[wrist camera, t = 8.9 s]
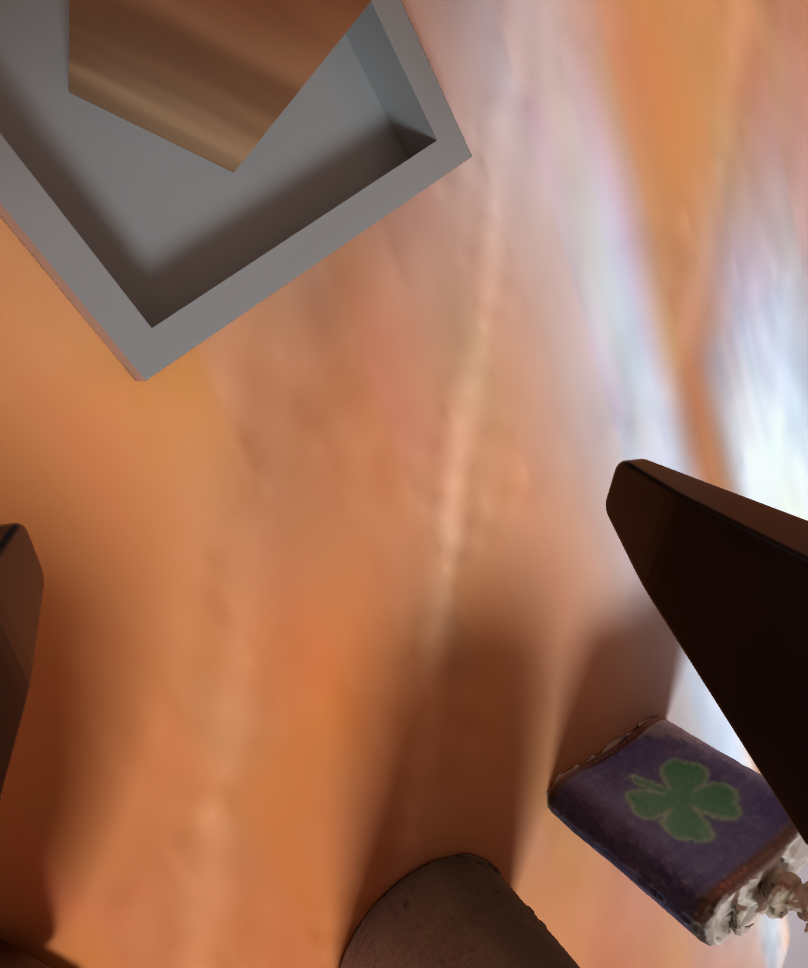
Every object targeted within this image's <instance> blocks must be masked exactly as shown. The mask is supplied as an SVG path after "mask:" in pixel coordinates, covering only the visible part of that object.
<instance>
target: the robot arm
mask: <svg viewBox="0 0 808 968" xmlns="http://www.w3.org/2000/svg"><path fill="white" fill-rule="evenodd" d="M606 510H607V514H608V516H609V519H610V521H611V523H612V525H613V527H614V529H615V531H616V533H617V535H618V537H619V539H620V541H621V543H622V545H623V547H624V549H625V551H626V553H627V555H628V557H629V559H630V561H631V563H632V565H633V567H634V569H635V571H636V573H637V575H638V577H639V579H640V581H641V583H642V585H643V586H644V588H645V590H646V591H647V593H648V595H649V596H650V598H651V600H652V601H653V603H654V605H655V606H656V608H657V609H658V611H659V612H660V614H661V616H662V617H663V619H664V620H665V622H666V624H667V625H668V627H669V628H670V630H671V631H672V633H673V635H674V636H675V638H676V639H677V641H678V643H679V644H680V646H681V647H682V649H683V650H684V652H685V654H686V655H687V657H688V658H689V660H690V662H691V663H692V665H693V666H694V668H695V669H696V671H697V673H698V674H699V676H700V677H701V679H702V681H703V682H704V684H705V685H706V687H707V688H708V690H709V692H710V693H711V695H712V696H713V698H714V699H715V701H716V703H717V704H718V706H719V707H720V709H721V711H722V712H723V714H724V715H725V717H726V718H727V720H728V722H729V723H730V725H731V726H732V728H733V730H734V731H735V733H736V734H737V736H738V737H739V739H740V741H741V742H742V744H743V745H744V747H745V749H746V750H747V752H748V753H749V755H750V756H751V758H752V760H753V761H754V763H755V764H756V766H757V768H758V769H759V771H760V772H761V774H762V775H763V777H764V779H765V780H766V782H767V783H768V785H769V787H770V788H771V790H772V791H773V793H774V794H775V796H776V798H777V799H778V801H779V802H780V804H781V806H782V807H783V809H784V810H785V812H786V813H787V815H788V817H789V818H790V820H791V821H792V823H793V825H794V826H795V828H796V829H797V831H798V832H799V834H800V836H801V837H802V839H803V840H804V842H805V843H806V844H807V845H808V521H807V520H804V519H801V518H799V517H796V516H793V515H791V514H788V513H786V512H783V511H780V510H778V509H775V508H772V507H770V506H767V505H764V504H762V503H759V502H757V501H754V500H751V499H749V498H746V497H743V496H741V495H738V494H735V493H733V492H730V491H728V490H725V489H722V488H720V487H717V486H714V485H712V484H709V483H707V482H704V481H701V480H699V479H696V478H693V477H691V476H688V475H685V474H683V473H680V472H678V471H675V470H672V469H670V468H667V467H664V466H662V465H659V464H656V463H654V462H651V461H649V460H645V459H635V460H626V461H622V462H620V463H619V464H618V466H617V467H616V469H615V473H614V476H613V479H612V483H611V486H610V489H609V493H608V496H607V500H606ZM43 586H44V578H43V572H42V568H41V565H40V563H39V560H38V557H37V555H36V552H35V550H34V547H33V544H32V542H31V539H30V537H29V534H28V532H27V530H26V529H25V527H24V526H23V525H21V524H19V523H12V524H2V525H0V798H1V794H2V790H3V786H4V783H5V779H6V775H7V772H8V768H9V764H10V760H11V757H12V753H13V749H14V746H15V742H16V738H17V734H18V731H19V727H20V723H21V719H22V716H23V712H24V708H25V705H26V701H27V696H28V692H29V688H30V683H31V676H32V670H33V663H34V655H35V648H36V640H37V632H38V625H39V617H40V610H41V602H42V594H43ZM0 968H51V967H50V966H48V965H46V964H44V963H42V962H41V961H39V960H37V959H35V958H34V957H32V956H30V955H28V954H27V953H25V952H23V951H21V950H20V949H18V948H16V947H14V946H12V945H11V944H9V943H7V942H5V941H4V940H2V939H0Z"/></svg>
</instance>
